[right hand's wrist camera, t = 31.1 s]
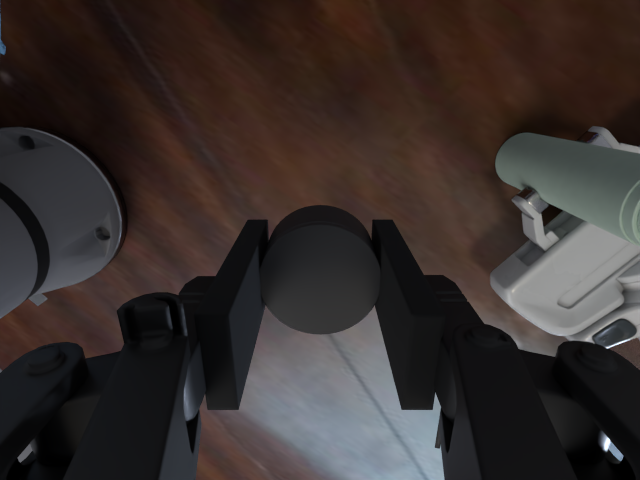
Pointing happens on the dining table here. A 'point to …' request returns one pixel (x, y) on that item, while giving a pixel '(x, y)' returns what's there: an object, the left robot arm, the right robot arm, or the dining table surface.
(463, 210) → the dining table surface
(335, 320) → the cap
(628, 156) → the bottle
